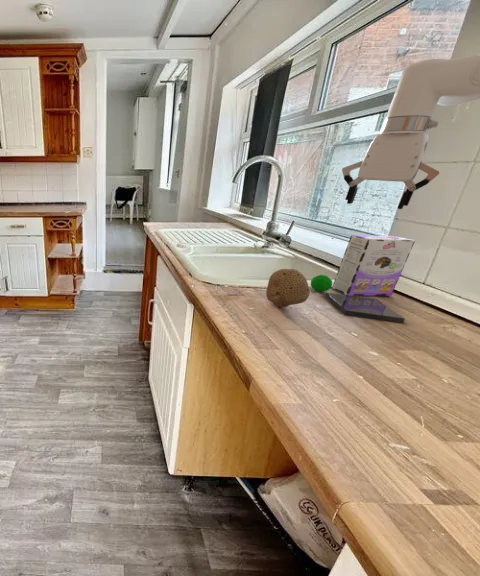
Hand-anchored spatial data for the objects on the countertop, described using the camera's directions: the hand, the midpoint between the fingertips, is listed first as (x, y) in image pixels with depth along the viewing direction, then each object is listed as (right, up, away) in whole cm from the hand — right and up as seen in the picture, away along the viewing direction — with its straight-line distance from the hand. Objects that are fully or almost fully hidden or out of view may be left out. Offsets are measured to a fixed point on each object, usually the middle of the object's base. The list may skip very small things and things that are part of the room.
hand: (373, 206), depth 75 cm
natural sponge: (-22, -25, +1) cm, 33 cm away
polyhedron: (-4, -21, +14) cm, 26 cm away
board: (-1, -25, +3) cm, 26 cm away
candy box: (+9, -22, +14) cm, 27 cm away
